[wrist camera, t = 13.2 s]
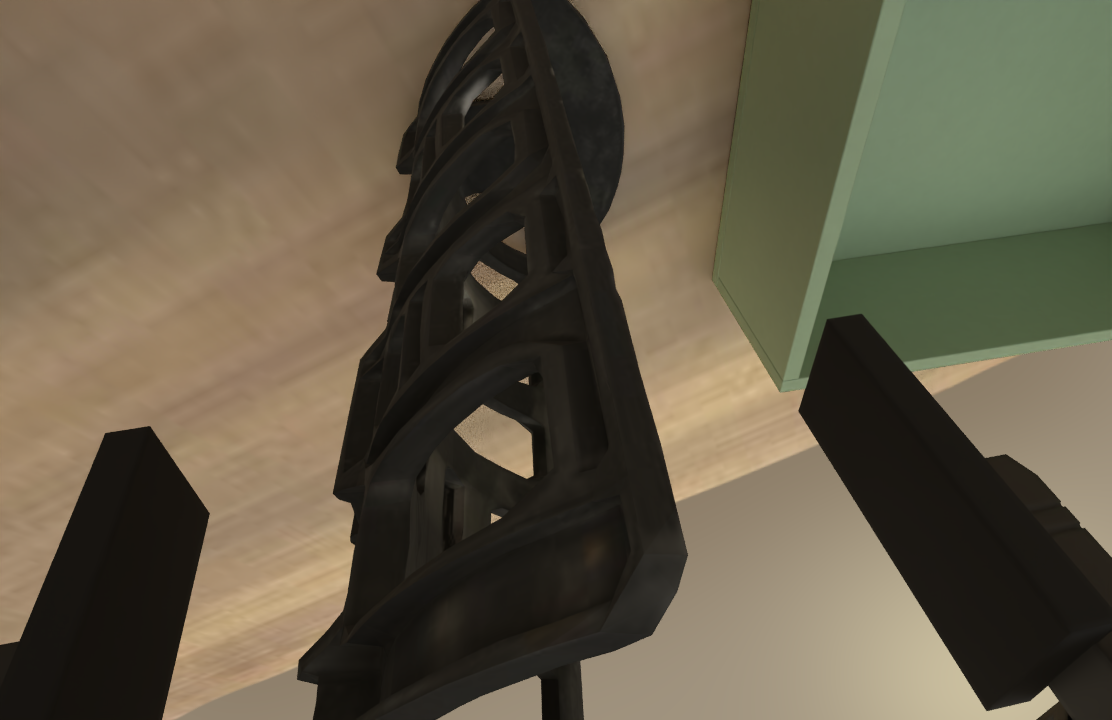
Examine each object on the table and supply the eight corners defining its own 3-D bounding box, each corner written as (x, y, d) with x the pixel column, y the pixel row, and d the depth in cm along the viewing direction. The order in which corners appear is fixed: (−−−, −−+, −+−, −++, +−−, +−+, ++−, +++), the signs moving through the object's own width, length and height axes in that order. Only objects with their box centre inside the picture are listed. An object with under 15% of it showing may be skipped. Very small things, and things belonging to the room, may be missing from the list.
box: (711, 279, 29) (779, 393, 24) (768, -120, 19) (903, -77, 14) (1109, 224, 31) (1253, 318, 26) (1340, -165, 21) (1646, -141, 16)
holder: (641, 249, 27) (824, 855, 12) (461, 289, 27) (425, 907, 13) (596, -63, 19) (925, 520, 5) (350, 1, 20) (-43, 689, 5)
